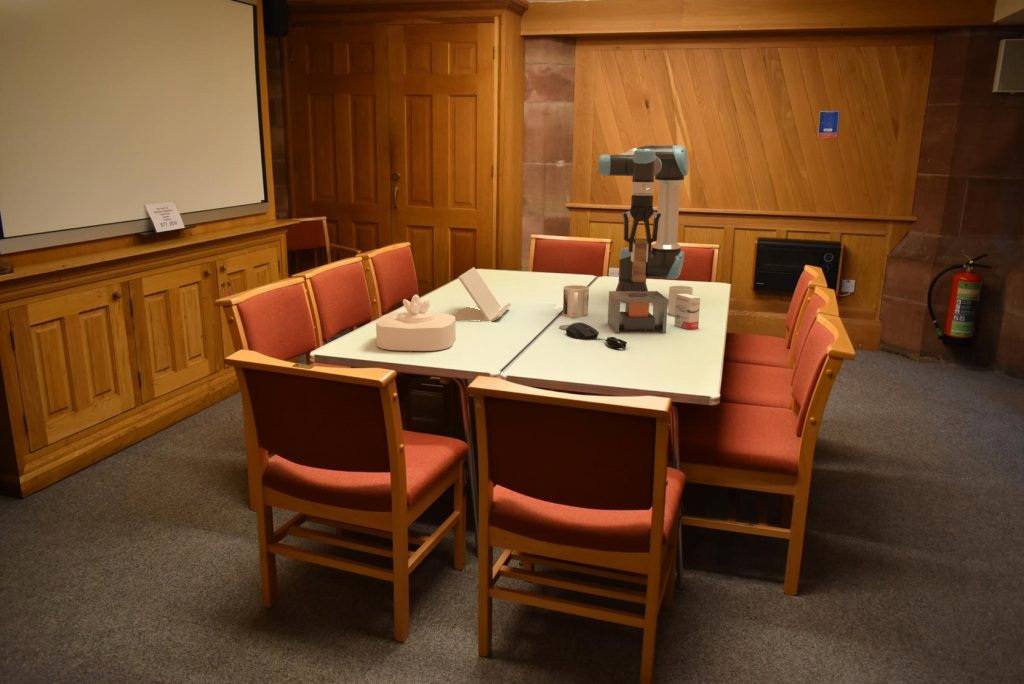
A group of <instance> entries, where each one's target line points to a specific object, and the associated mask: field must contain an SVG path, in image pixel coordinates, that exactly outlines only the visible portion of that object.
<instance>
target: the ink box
mask: <svg viewBox="0 0 1024 684" xmlns="http://www.w3.org/2000/svg"><path fill="white" fill-rule="evenodd" d="M700 305H701V297H700V296H696V295H693V294H692V295H689V294H676V307H675V316H674V326H675V327H679V328H682V329H685V330H690V331H691V330H695V329H696V330H697V329H699V326H700V325H699V322H700V308H701V307H700Z"/></svg>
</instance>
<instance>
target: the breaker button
mask: <svg viewBox="0 0 1024 684" xmlns="http://www.w3.org/2000/svg"><path fill="white" fill-rule="evenodd" d="M624 308H625V309H624V312H625V314H626V315H627V316H628V317H648V315H649V313H650V302H626V303H625V307H624Z"/></svg>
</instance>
